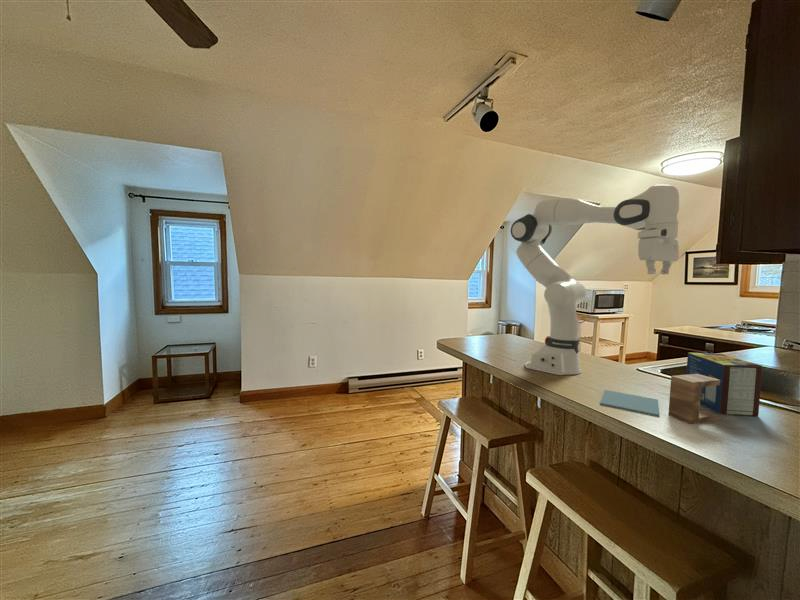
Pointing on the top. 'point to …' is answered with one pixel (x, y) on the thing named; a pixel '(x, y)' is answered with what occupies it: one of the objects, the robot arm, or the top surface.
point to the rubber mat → (630, 402)
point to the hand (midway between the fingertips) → (658, 274)
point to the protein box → (728, 383)
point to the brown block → (689, 398)
